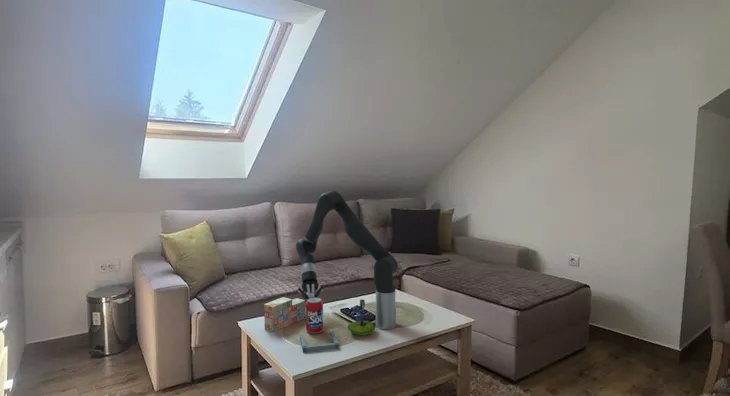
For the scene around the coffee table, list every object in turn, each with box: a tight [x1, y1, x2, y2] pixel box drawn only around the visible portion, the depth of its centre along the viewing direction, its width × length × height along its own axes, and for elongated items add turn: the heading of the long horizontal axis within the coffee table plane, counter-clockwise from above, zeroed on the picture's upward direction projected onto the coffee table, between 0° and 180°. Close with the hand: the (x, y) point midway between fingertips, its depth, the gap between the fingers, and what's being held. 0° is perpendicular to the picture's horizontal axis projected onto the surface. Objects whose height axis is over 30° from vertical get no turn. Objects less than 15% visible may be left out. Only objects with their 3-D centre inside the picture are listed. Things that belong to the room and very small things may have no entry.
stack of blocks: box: [263, 296, 306, 333], centre depth 211 cm, size 21×6×12 cm, turn 143°
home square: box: [299, 330, 340, 353], centre depth 189 cm, size 15×14×2 cm
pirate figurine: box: [346, 299, 376, 336], centre depth 199 cm, size 14×13×15 cm
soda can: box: [305, 297, 324, 335], centre depth 202 cm, size 8×8×15 cm
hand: (311, 305), depth 210 cm, fingers closed
